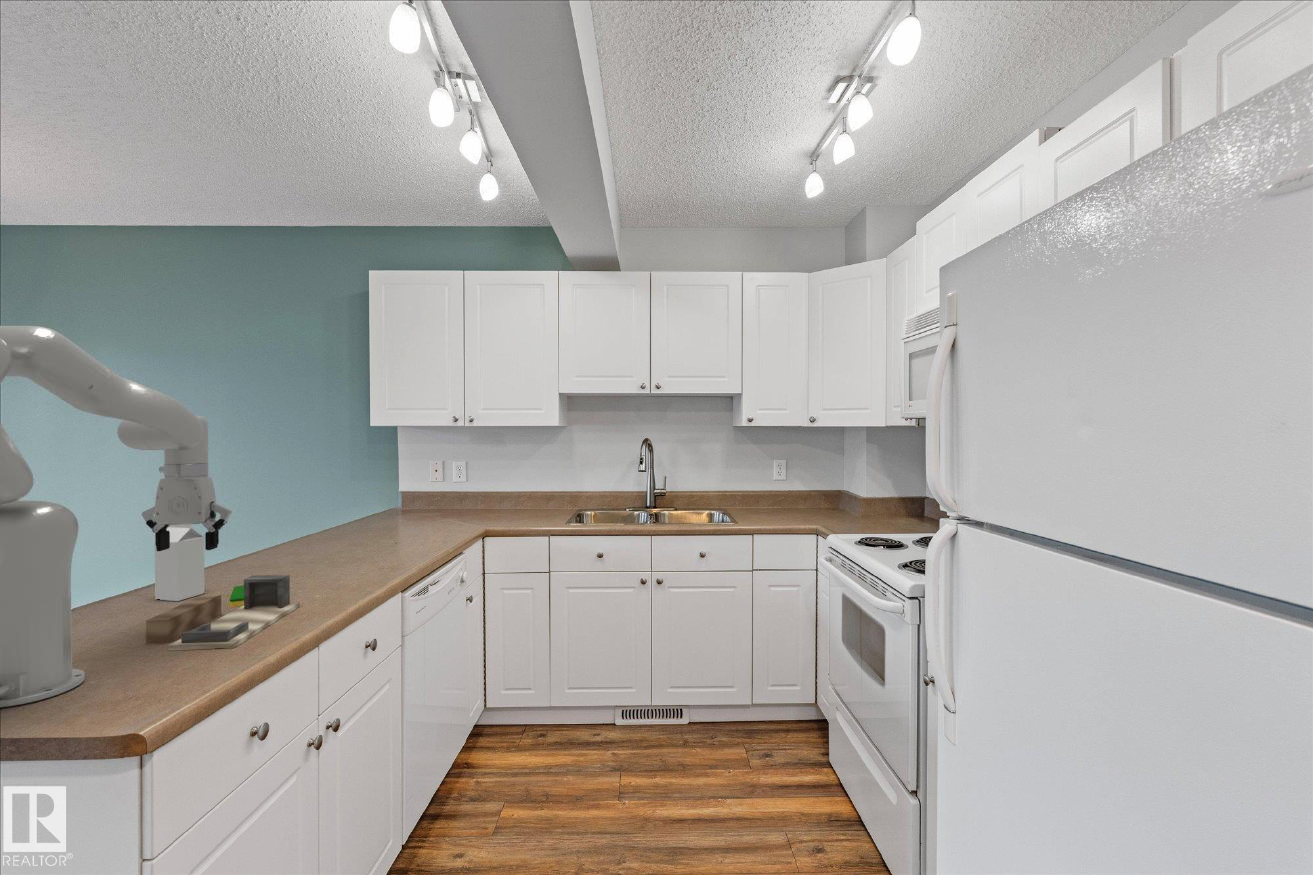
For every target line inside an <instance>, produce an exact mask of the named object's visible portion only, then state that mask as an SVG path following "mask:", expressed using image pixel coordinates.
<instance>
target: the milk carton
mask: <svg viewBox="0 0 1313 875" xmlns="http://www.w3.org/2000/svg"><path fill="white" fill-rule="evenodd" d="M167 531H169V532H170V548H169V549H166V550H163V551H157V550H156V545H155V544H154V600H157V599H160V600H159V601H172V602H179V601H183V600H186V599H190V598H193V597H198V596H201V595H204V594H205V592H206V591H205V536H203V535H202V534H201V533H200V532H198V531H196V529H194V528H193V527H192V524H187V525H170V526H169V527H168V528H167ZM203 593H204V594H203Z"/></svg>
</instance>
